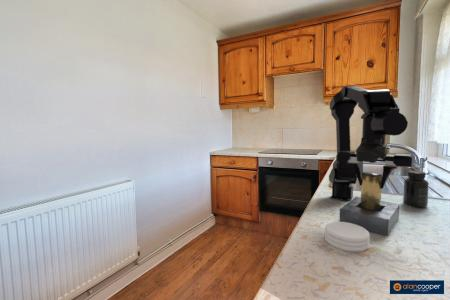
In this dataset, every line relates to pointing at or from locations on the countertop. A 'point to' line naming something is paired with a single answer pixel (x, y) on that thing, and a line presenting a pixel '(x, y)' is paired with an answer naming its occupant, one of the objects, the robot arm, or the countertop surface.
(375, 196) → the tan cylinder
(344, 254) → the countertop surface
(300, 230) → the countertop surface
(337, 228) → the white flat disc stack
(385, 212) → the housing
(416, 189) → the supplement bottle
